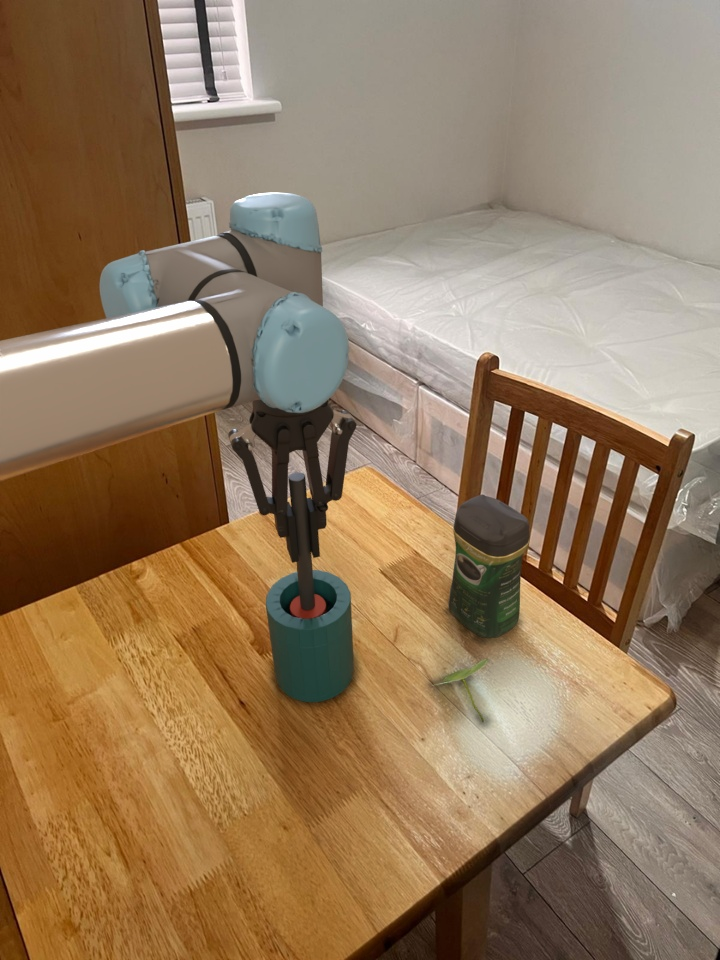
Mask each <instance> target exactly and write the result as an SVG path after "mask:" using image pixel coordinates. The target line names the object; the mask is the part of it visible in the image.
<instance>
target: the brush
mask: <svg viewBox="0 0 720 960" xmlns="http://www.w3.org/2000/svg"><path fill="white" fill-rule="evenodd" d="M288 490H289V497H290V498H289V499H290V505H291V509H292V510H293V513H294V515H295V526H296V537H297V548H298V559H299V561H298V562H295V563H296V564H295V565H296V572H297V574H298V585H299V596H297V597H296V598H294V599H293V601H292V602H291V604H290V614H291V616H293V617H296V618H300V619H312V618H317V617H320V616H322V615H324V614H326V613H327V612H326V602H325V600H324V599H323V598H322V597H321V596H319V595H317V594H314V582H313V570H314V569H313V558H312V557H313V555H312V553H311V543H310V530H309V517H308V505H307V498H308V494H307V493H308V492H307V480H306V475H305V473H303V472H301V471H295V472H291V473H290V474H288Z"/></svg>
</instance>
